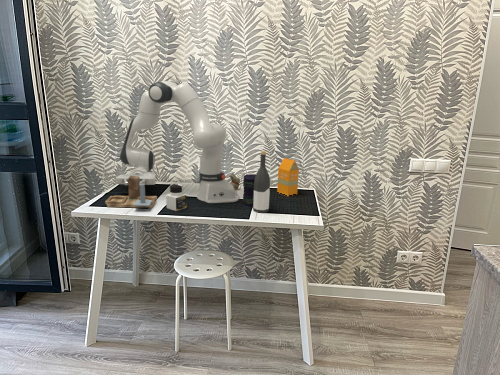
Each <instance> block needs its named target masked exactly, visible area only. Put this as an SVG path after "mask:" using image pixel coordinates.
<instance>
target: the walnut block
mask: <svg viewBox="0 0 500 375" xmlns="http://www.w3.org/2000/svg"><path fill="white" fill-rule="evenodd" d="M138 182H139V176H130V177H129V178H128V183H129V184H128V196H129V199H137V198H138V197H140V185H138Z"/></svg>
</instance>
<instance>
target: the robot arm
mask: <svg viewBox="0 0 500 375" xmlns="http://www.w3.org/2000/svg"><path fill="white" fill-rule="evenodd" d="M170 103H176V104H177V106H178V107H179V109H180V111H182V114H183V115H184V116H185V118H186V120H187V121H188V124H189V126H190V128H191V131H192V134H193V143H194V145H195V146H196V147H197V148H199V149H201V155H200V157H199V173H198V182H199V188H198V194H197V196H196V198H197V199H198V200H199V201H200V202H201V201H202V202H205V203H208V204H222V203H235V202H238V201H239V200H240V196H239V193H237V192H236V190H235V189H234V186H233V185H232V184H231V183H230V182H229V181H228V180H226V175H225V172H222V155H223V149H224V143H225V140H226V138H227V130H226V128H225V127H224V126H223V125H221V124H218V123H211V122H210V119H209V116H208V110H207V108H206V107H205V105H204V103H203V102H202V100H201V99H200V96H199V95H198V94H197V92H196V91H195V90H194V89H193V88H192V86H191V85H190V84H188V83H185V82H184V83H183V82H182V83H178V82H175V81H172V80H171V81H170V80H162V81H161V80H160V81H155V82H153V83H152V84H150V86H149V87H148V90H145V91H144V92H143V93H142V95H141V98H140V101H139V105H138V112H137V115H136V116H135V117H134V118H132V119H131V120H130V123H129V126H128V128H127V132H126V135H125V138H124V142H123V145H122V147H121V149H120V153H119V160H120V161H121V163H123V165H129V166H130V165H132V166H135V167H134V169H133V170H132V171H131V173H130V174H119V175H118V176H116V177H115V183H116V184H117V185H124V186H129V183H128V178H129V177H130V176H139V182H138V185H139V186H140V184H145V185H147V186H149V185H151V186H152V185H156V173H155V171H154V170H153V168H154V165H155V161H156V157H155V154H154V152H153V151H152V150H149V149H146V148H145V149H144V148H138V147H135V146H134V147H133V142H134V139H135V134H136V133H137V132H138V131H142V130H149V129H152V128H154V127H155V126H156V125H157V124H158V123H159V120H160V115H161V114H160V113H161V107H162V105H163V104H170Z"/></svg>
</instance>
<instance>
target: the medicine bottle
mask: <svg viewBox="0 0 500 375" xmlns="http://www.w3.org/2000/svg"><path fill="white" fill-rule="evenodd" d="M165 197H166V198H165V200H166V209H168V210H170V211H173V212H174V211H175V212H179V211H181V210H185V209H186V208H188V206H187V194H186V193H184V192H183V185H182V184H179V183H174V184H171V185H169V193H167V194H166V195H165Z"/></svg>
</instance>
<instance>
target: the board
mask: <svg viewBox="0 0 500 375" xmlns="http://www.w3.org/2000/svg"><path fill="white" fill-rule="evenodd" d="M136 200H140V197H138V198H137V199H129V195H110V196H109V197H108V198H107V199H106V200H105V202H104V203H105V205H106V208H136V209H137V208H139V209H140V208H141V209H142V208H143V209H144V208H146V209H147V208H149V209H151V208H154V205H156V202H157V200H158V196H157V195H145V200H152V202H151V204H150V206H134V203H135V202H136Z"/></svg>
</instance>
